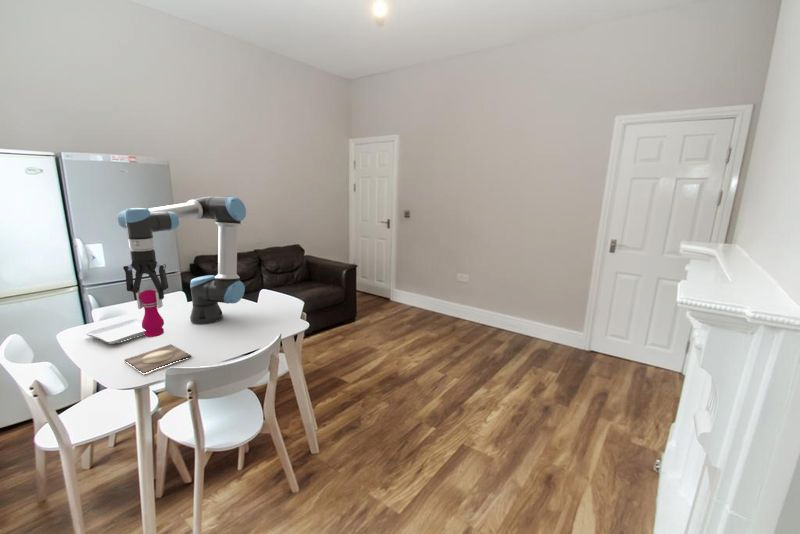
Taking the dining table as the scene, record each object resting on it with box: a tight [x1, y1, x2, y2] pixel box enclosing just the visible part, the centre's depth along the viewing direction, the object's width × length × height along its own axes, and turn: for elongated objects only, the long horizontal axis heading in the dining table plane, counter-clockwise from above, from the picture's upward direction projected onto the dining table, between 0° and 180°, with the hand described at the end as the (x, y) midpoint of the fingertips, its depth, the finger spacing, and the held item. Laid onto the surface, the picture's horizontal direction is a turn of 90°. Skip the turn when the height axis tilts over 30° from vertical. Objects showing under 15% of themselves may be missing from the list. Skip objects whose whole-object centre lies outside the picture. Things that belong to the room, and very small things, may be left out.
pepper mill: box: [140, 285, 165, 338], centre depth 137 cm, size 7×7×20 cm
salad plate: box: [85, 318, 145, 345], centre depth 163 cm, size 21×21×3 cm
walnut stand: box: [124, 343, 192, 373], centre depth 141 cm, size 17×17×2 cm
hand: (150, 307), depth 136 cm, fingers closed on pepper mill, 6 cm apart
